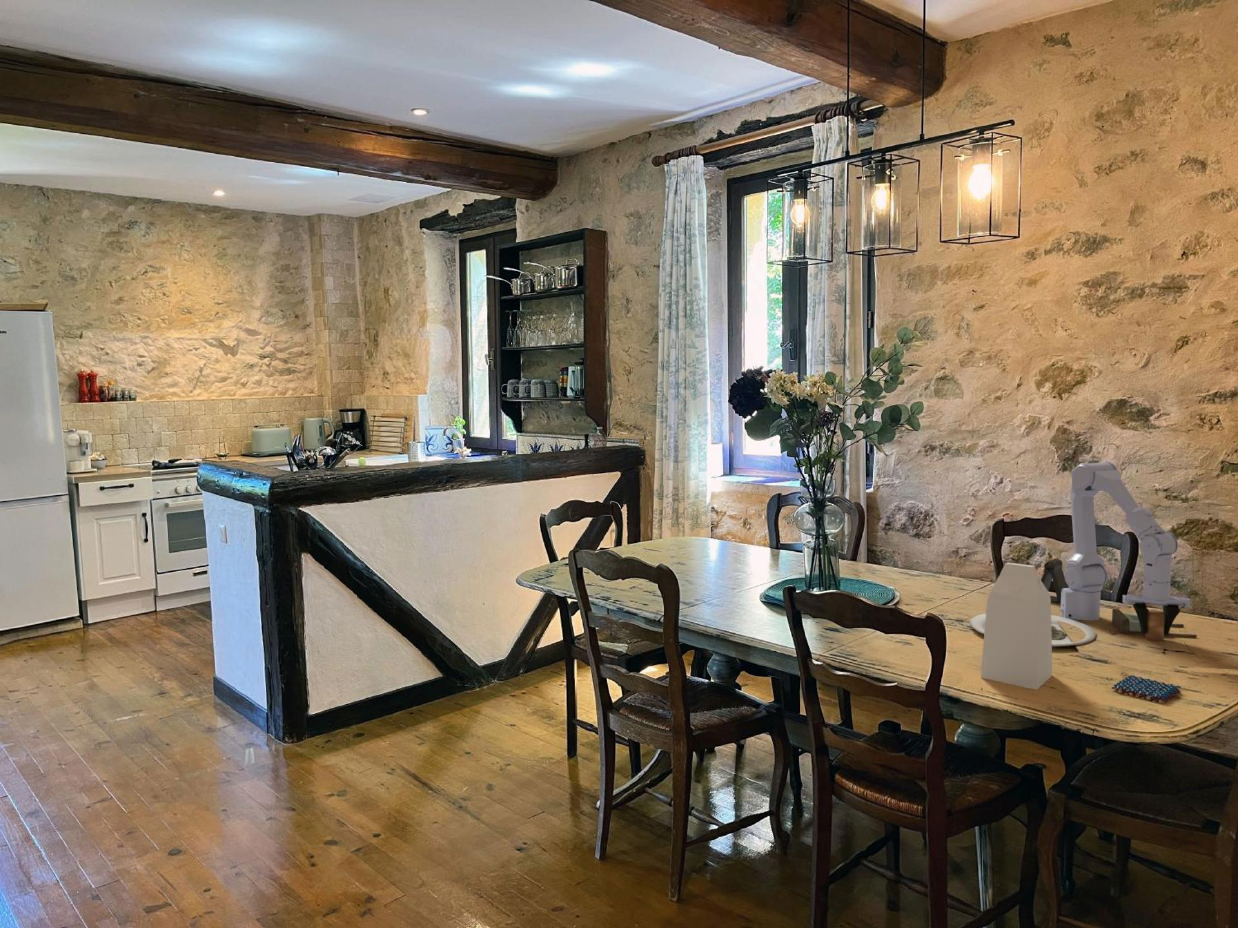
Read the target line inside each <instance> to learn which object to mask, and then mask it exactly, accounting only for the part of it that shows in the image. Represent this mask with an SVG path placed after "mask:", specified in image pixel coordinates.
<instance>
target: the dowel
mask: <svg viewBox="0 0 1238 928" xmlns="http://www.w3.org/2000/svg"><path fill="white" fill-rule="evenodd" d="M1148 610H1149V611H1148V617H1147V633H1146V634H1145V635H1144V639H1145V640H1146V641H1147V640H1148V641H1151V642H1163V641H1164V640H1165V636H1164V623H1165V613H1164V612H1163V610H1162V611H1160V610H1154V609H1148Z"/></svg>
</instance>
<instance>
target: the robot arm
mask: <svg viewBox="0 0 1238 928" xmlns="http://www.w3.org/2000/svg"><path fill="white" fill-rule="evenodd" d="M1070 475H1071V487H1070V508H1071V521H1072V523H1071V524H1072V538H1073V552H1074V553H1073V555H1071V557H1069V559H1067V561H1066V567H1065V568H1066V569H1065V572H1064V577H1065V581H1066V583H1067V586H1068V588H1063V589H1062V592H1061V604H1060V615H1061V617H1063V618H1068V619H1071V620H1075V621H1079V620H1081V621H1098V620H1100V616H1101V615H1100V612H1101V591H1102V590H1104V589H1103V588H1104V586H1105V585H1106V584H1107V582H1108V579H1109V574H1108V570H1107V569H1106V567H1105V565H1106V564H1105V560H1104V558H1102V557H1101V556H1100V555H1099V554H1098V552H1097V538H1096V537H1097V536H1096V533H1097V532H1096V522H1095V521H1096V520H1095V505H1094V503H1095V502H1094V497H1095V496H1096V495H1098V493H1100V492H1103V493H1106V494H1108V496H1110V497H1111V499H1112V500H1113V501H1114V502H1115V503H1116V504H1117V506H1118V507H1119V508H1120V509H1121V510H1122V511H1123V512H1124V513H1125V518H1124V519H1125V523H1126V524H1127V525H1128V526H1129V528H1130V529H1131V531H1132V532H1133V533H1134V535H1135V536H1136V538H1137V539H1138V541H1140V542H1139V543H1138V546H1139V550H1140V552H1141V554H1142V560H1143V562H1144V563H1143V565H1144V566H1143V567H1144V569H1143V587H1142V588H1143V589H1142V590H1143V591H1142V594H1130V595H1128V594H1122V603H1123V604H1124V605H1128V606H1129V605H1132V608H1134V609H1133V610H1134V611H1135V614H1137V616H1138V619H1139V622H1140V627H1141V632H1142V633H1144V634H1146V633H1147V617H1148V611H1149V610H1150V609H1149V608H1147V607H1148V606H1162V612H1164V613H1165V623H1164V634H1165V635H1168V634H1169V633H1170V629H1171V628H1172V627H1171V625H1172V624H1174V621H1175V620H1176V618H1177V617H1178V615H1179V614H1180V613H1181V608H1180V607H1184V608H1191V599H1190V598H1188V597H1178V596H1172V595H1171V581H1172V580H1171V578H1172V577H1171V576H1172V575H1171V574H1172V557H1173V555H1174V554H1175V553H1176V552H1177V550H1178V548H1179V542H1178V539H1177V537H1176V535H1175V534H1173V533H1172V532H1171V531H1166V530H1165V529H1164V528H1163V527H1162V526H1160V524H1159V523H1158V522H1157V520H1156V519H1155V518H1154V517H1153V513H1152V512H1151V511H1150V510H1148V509H1147V508H1144V507H1143V508H1142V507H1140V506H1139V505H1138V504H1137V502H1136V500H1135V499H1134V498H1133V495H1132V494H1131V492H1130V491H1129V490H1128V488H1127V487H1126V485H1125V484H1124V482H1123V481H1122V472H1120V470H1119V469H1118V467H1117V466H1116V465H1115V464H1114V463H1113V462H1110V461H1105V462H1093V463H1079V464H1077V465H1076V466H1075V467H1074V468H1073V470H1071V471H1070ZM1069 615H1070V616H1069Z"/></svg>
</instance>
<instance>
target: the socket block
mask: <svg viewBox="0 0 1238 928" xmlns="http://www.w3.org/2000/svg"><path fill="white" fill-rule="evenodd" d="M1122 613H1123V612H1122ZM1123 614H1124V615H1125V616H1126V617H1127V618H1128V619H1129V631H1140V632H1141V627H1140V622H1139V619H1138V616H1137V614H1136V613H1123Z"/></svg>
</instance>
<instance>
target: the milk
mask: <svg viewBox="0 0 1238 928" xmlns="http://www.w3.org/2000/svg"><path fill="white" fill-rule="evenodd" d="M1050 596H1051V594H1050V593H1049V591H1048V590H1047V589H1046V587H1045V586H1044V584H1043V583H1042V581H1041V578H1040V575H1039V573H1038V571H1037V569H1036V566H1035V565H1028V564H1022V563H1014V562H1005V564H1004V566H1003V567H1002V569H1001V571H1000V573H999V575H998V577H997V579H996V581H995V583H994V585H993V586H992V588H991V589H990V592H989V594H988V597H987V600H986V610H985V613H986V620H985V632H984V634H983V635H984V636H983V644H982V645H983V646H982V659H981V669H980V678H981V679H984V680H988V681H989V680H990V681H995V682H999V683H1003V684H1008V685H1013V686H1016V687H1017V686H1019V687H1023V688H1027V689H1031V690H1032V689H1033V690H1036V691H1037V690H1038V689H1039V688H1041V686H1043V684H1045V683H1046V682H1047V681H1048V680H1049V679H1050V678H1051V677H1053V647H1052V635H1051V615H1052V602H1051V598H1050Z"/></svg>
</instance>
